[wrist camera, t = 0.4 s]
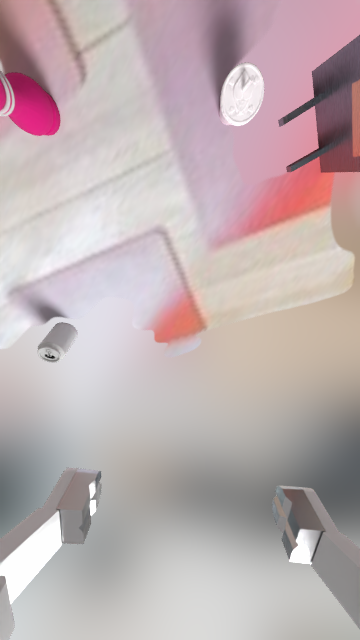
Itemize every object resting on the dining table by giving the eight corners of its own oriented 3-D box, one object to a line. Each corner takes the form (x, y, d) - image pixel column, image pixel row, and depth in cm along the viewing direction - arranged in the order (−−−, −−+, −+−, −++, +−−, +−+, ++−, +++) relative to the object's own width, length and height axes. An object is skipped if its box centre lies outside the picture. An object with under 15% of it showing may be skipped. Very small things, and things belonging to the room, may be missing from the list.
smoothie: (248, 85, 36) (282, 43, 25) (243, 133, 40) (270, 117, 28) (212, 87, 36) (229, 47, 25) (211, 135, 40) (225, 119, 28)
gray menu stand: (274, 96, 37) (351, 34, 20) (319, 66, 35) (444, -30, 18) (290, 189, 45) (353, 196, 29) (327, 169, 43) (417, 165, 27)
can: (55, 335, 69) (35, 361, 59) (54, 318, 65) (33, 343, 55) (78, 340, 70) (62, 366, 61) (79, 324, 66) (62, 349, 57)
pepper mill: (49, 148, 41) (-36, 130, 24) (13, 108, 37) (-113, 55, 21) (71, 118, 38) (-8, 75, 22) (34, 71, 35) (-91, -20, 18)
